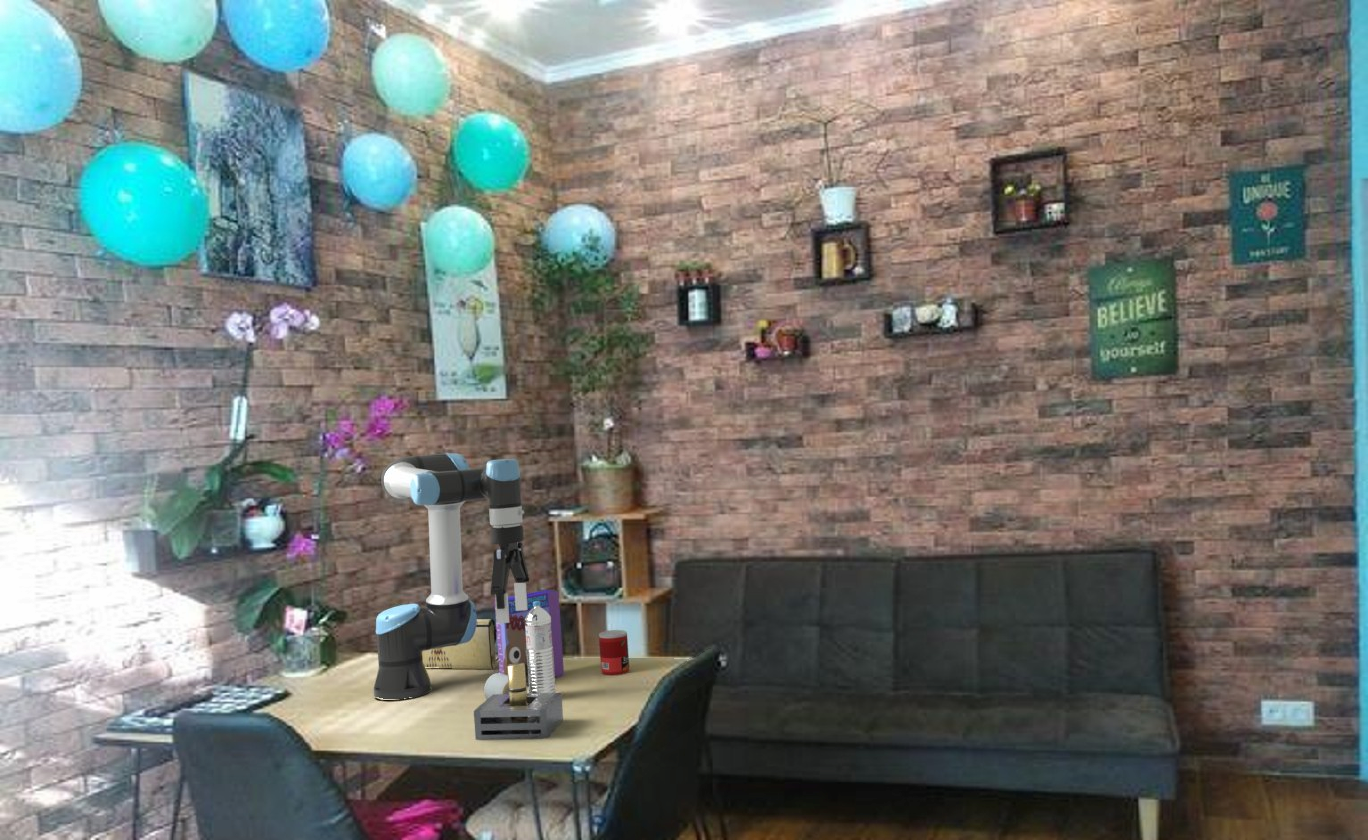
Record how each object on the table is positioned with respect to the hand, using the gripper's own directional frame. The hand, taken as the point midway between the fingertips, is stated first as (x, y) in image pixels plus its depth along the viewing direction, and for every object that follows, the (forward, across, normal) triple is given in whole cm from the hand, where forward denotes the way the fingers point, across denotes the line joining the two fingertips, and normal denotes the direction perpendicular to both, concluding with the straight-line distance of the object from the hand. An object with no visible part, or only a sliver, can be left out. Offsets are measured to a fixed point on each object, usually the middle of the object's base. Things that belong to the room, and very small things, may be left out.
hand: (512, 616), depth 226 cm
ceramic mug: (+27, +21, +10) cm, 35 cm away
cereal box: (+27, +42, +10) cm, 51 cm away
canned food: (+27, +49, -12) cm, 57 cm away
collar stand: (+26, 0, 0) cm, 26 cm away
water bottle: (+27, +25, +2) cm, 37 cm away
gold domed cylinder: (+25, 0, 0) cm, 25 cm away
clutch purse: (+27, +59, +38) cm, 76 cm away
